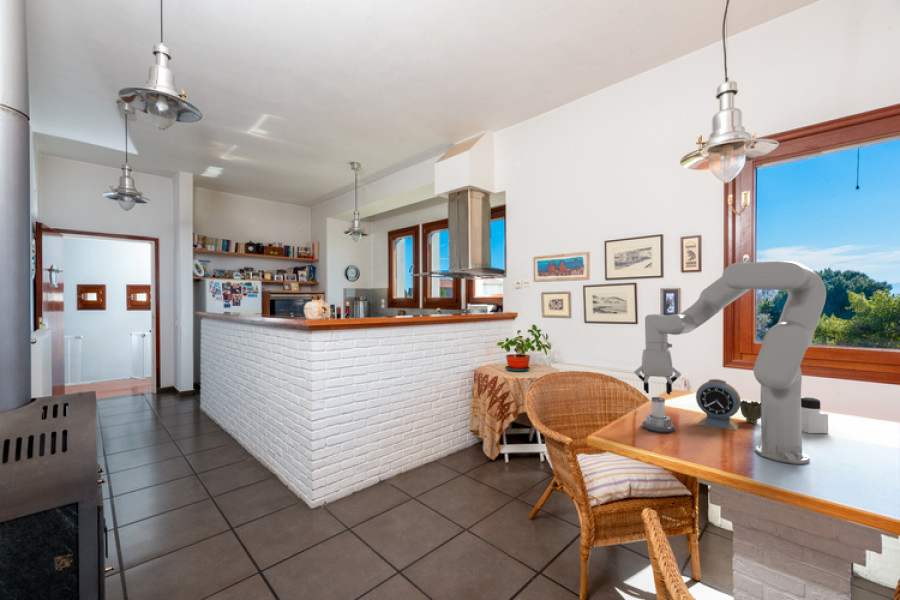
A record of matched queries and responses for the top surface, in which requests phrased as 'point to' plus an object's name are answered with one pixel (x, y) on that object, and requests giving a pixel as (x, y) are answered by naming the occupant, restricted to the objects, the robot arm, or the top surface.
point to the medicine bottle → (813, 416)
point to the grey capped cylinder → (658, 408)
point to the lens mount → (658, 424)
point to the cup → (751, 411)
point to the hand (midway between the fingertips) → (657, 392)
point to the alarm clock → (718, 404)
